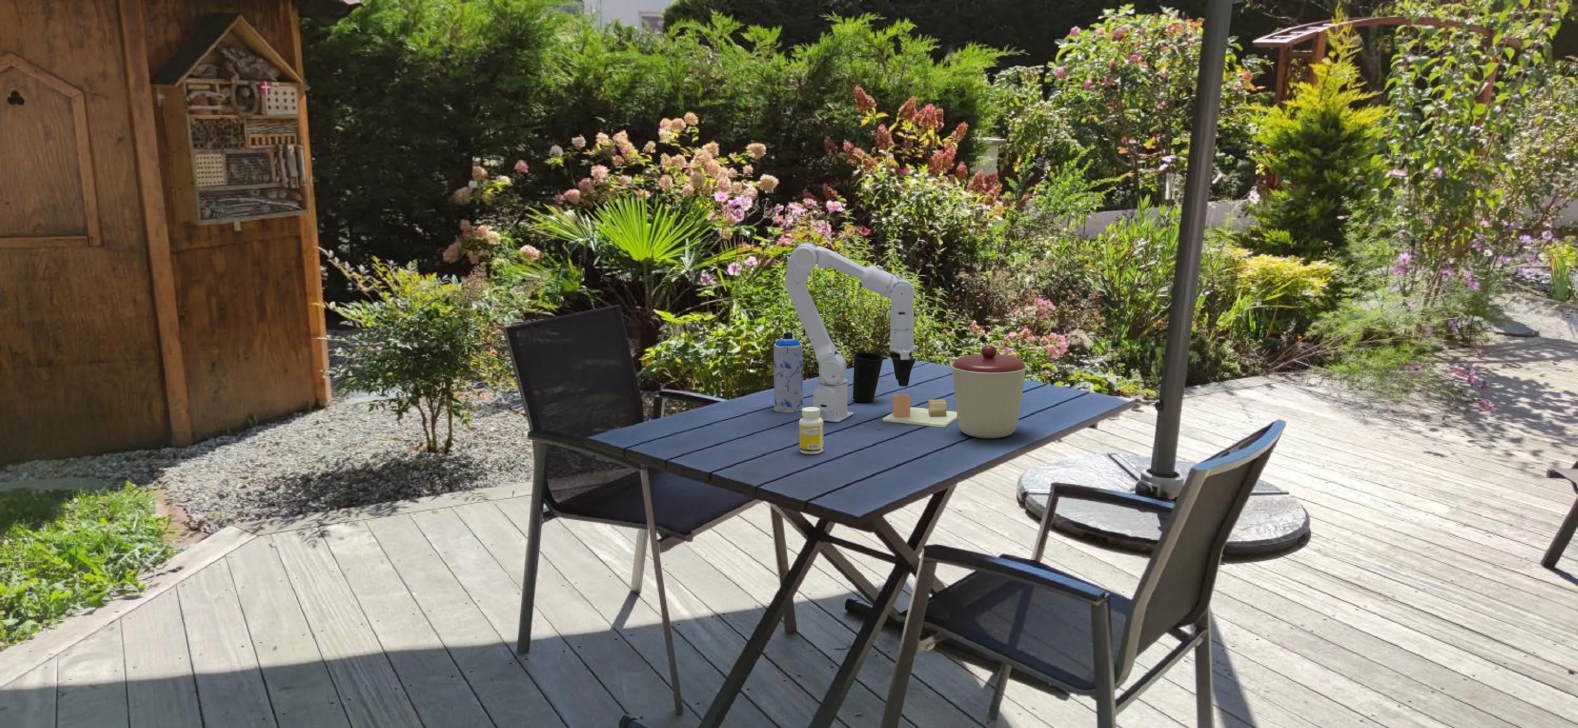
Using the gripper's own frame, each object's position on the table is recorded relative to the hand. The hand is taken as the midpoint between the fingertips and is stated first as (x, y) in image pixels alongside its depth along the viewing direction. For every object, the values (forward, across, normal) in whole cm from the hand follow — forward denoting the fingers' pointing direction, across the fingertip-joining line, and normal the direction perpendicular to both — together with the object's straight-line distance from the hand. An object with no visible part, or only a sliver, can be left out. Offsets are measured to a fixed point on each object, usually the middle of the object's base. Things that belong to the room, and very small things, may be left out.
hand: (901, 382), depth 281 cm
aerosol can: (+9, +11, +28) cm, 32 cm away
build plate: (+9, 0, -5) cm, 10 cm away
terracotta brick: (+8, 0, 0) cm, 8 cm away
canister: (+9, -16, -19) cm, 26 cm away
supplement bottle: (+9, -30, +23) cm, 39 cm away
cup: (+9, +19, +8) cm, 22 cm away
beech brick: (+8, 0, -9) cm, 12 cm away
